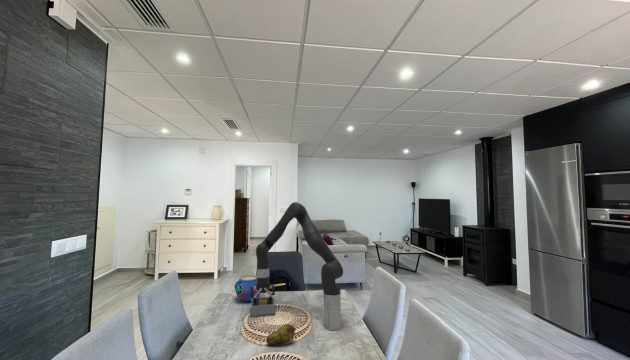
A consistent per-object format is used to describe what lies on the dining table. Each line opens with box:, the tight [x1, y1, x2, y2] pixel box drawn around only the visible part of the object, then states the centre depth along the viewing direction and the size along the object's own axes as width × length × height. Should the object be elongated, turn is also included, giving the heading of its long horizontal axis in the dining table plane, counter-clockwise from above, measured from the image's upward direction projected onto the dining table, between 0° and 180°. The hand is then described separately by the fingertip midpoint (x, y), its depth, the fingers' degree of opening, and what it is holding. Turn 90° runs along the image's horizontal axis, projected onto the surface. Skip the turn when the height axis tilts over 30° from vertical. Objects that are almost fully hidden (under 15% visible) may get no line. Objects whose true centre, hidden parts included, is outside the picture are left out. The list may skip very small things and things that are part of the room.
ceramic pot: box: [234, 274, 261, 302], centre depth 181 cm, size 18×18×15 cm
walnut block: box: [259, 297, 267, 305], centre depth 161 cm, size 5×5×6 cm
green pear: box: [266, 323, 296, 345], centre depth 125 cm, size 8×13×8 cm, turn 83°
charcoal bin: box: [250, 296, 276, 318], centre depth 161 cm, size 14×14×6 cm
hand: (262, 302), depth 161 cm, fingers open, 8 cm apart
